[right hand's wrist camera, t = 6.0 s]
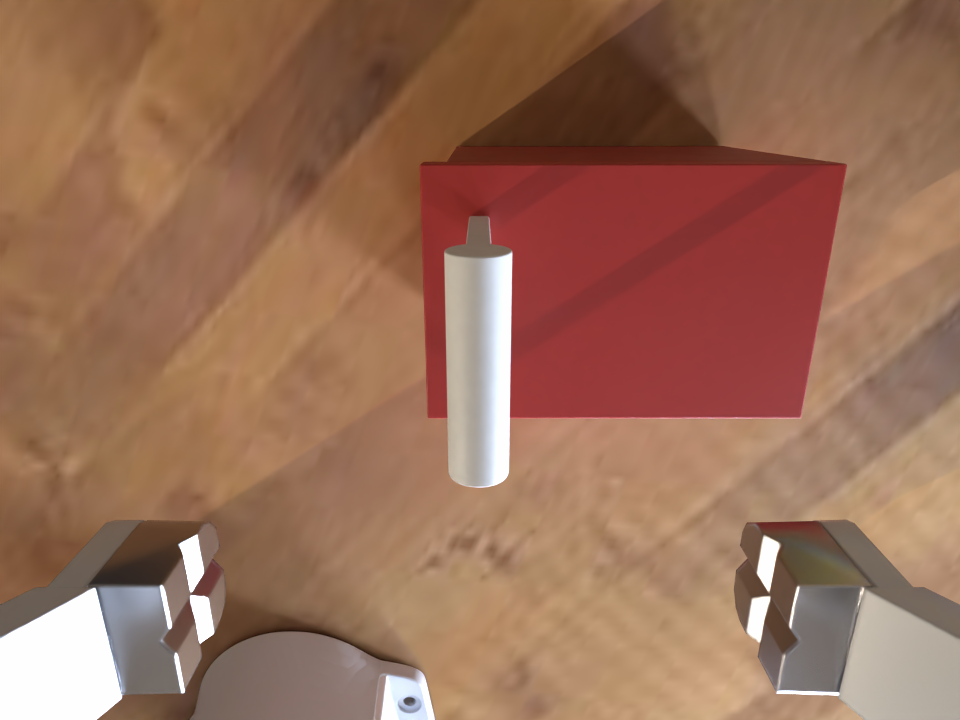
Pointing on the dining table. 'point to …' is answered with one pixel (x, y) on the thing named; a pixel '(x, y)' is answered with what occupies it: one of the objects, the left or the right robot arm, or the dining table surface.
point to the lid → (618, 293)
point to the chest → (615, 154)
